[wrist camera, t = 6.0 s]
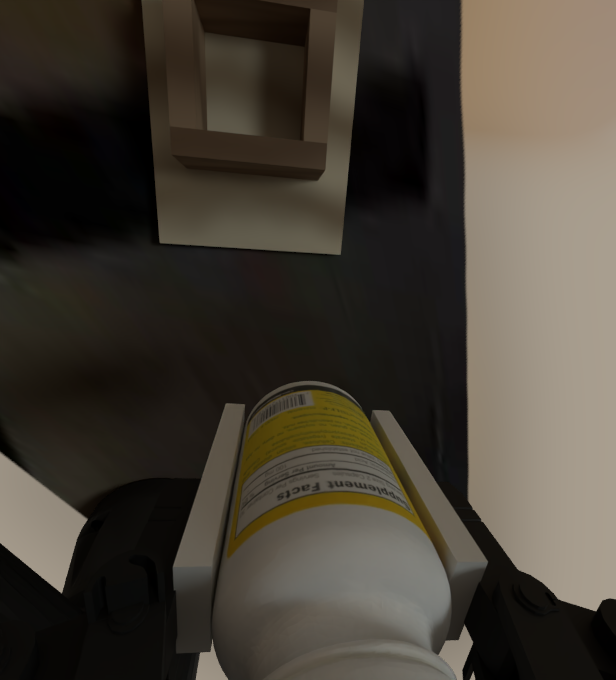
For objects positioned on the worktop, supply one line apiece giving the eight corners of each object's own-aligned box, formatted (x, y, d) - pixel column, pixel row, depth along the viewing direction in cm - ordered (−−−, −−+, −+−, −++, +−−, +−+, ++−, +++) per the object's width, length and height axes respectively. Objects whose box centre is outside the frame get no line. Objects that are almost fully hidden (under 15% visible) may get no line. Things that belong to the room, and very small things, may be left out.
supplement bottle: (338, 494, 15) (442, 939, 5) (228, 466, 14) (113, 958, 4) (387, 398, 13) (646, 772, 4) (268, 359, 12) (232, 737, 3)
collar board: (338, 254, 26) (350, 256, 21) (164, 243, 24) (140, 242, 20) (366, -63, 20) (391, -148, 16) (139, -108, 18) (98, -216, 14)
